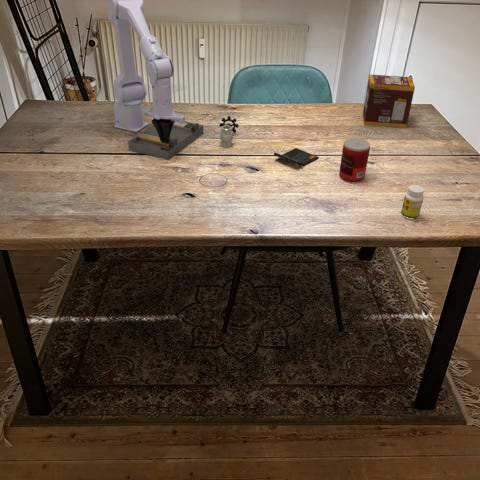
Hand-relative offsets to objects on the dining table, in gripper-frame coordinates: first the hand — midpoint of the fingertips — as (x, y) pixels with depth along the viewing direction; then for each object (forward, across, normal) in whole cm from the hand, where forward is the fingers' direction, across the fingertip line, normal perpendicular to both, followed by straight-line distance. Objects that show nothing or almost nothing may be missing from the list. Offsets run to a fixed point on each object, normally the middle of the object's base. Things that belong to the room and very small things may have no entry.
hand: (164, 140), depth 169 cm
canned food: (+4, +58, +12) cm, 60 cm away
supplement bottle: (+5, +78, -2) cm, 79 cm away
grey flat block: (+4, -4, +7) cm, 9 cm away
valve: (+4, +14, +17) cm, 23 cm away
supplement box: (+4, +57, +60) cm, 83 cm away
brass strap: (+1, -4, 0) cm, 4 cm away
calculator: (+5, +39, +15) cm, 42 cm away
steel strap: (+1, -4, +14) cm, 15 cm away
